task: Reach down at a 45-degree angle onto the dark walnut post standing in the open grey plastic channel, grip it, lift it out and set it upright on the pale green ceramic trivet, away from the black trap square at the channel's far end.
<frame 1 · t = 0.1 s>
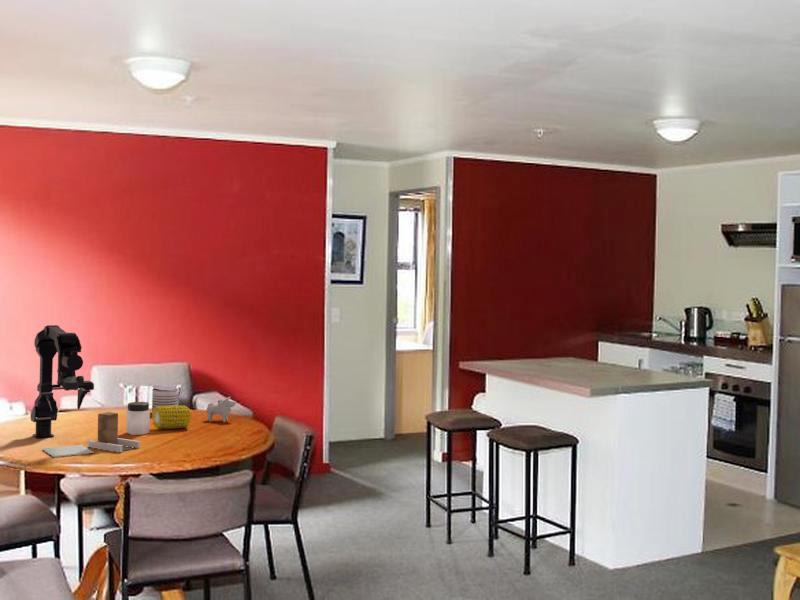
hand: (65, 410, 325), 15 cm above the table, tool pointing down, fingers open, 9 cm apart
dog figurine: (220, 421, 393), on the table
food: (171, 429, 371), on the table
trivet: (67, 451, 322), on the table
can: (164, 413, 408), on the table
jar: (137, 433, 360), on the table
channel: (113, 447, 332), on the table
post: (107, 446, 333), on the table
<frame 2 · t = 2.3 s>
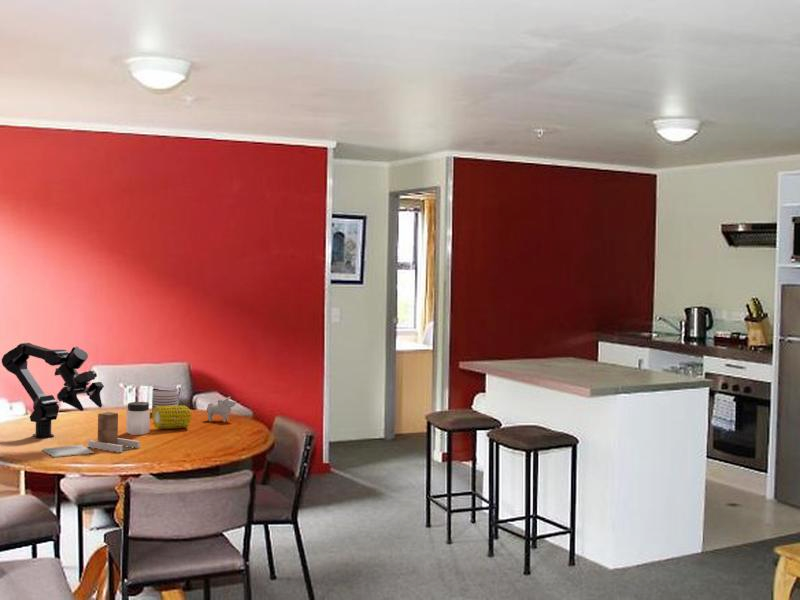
hand: (92, 408, 336), 13 cm above the table, tool tilted 45°, fingers open, 9 cm apart
nothing on the table moved.
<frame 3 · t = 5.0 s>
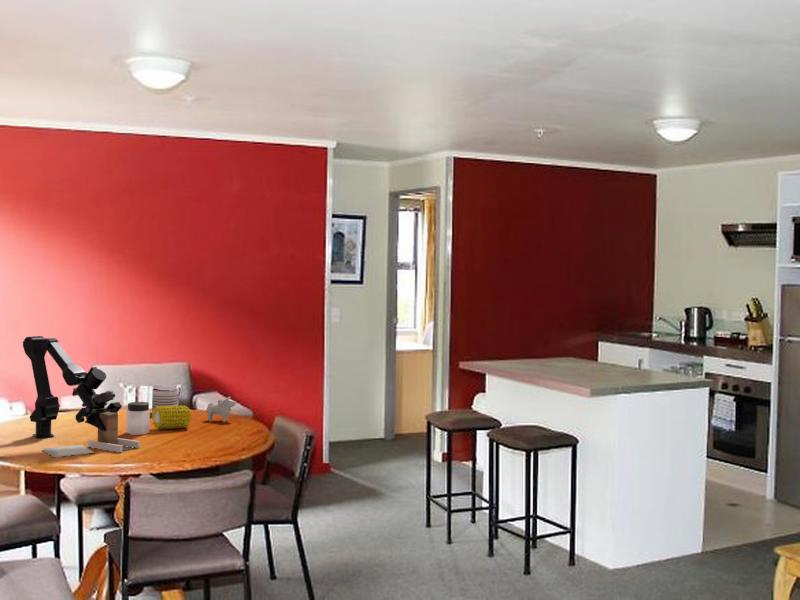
hand: (110, 429, 332), 7 cm above the table, tool tilted 45°, fingers closed on post, 5 cm apart
post: (107, 446, 333), on the table, touching gripper
everything else where it was.
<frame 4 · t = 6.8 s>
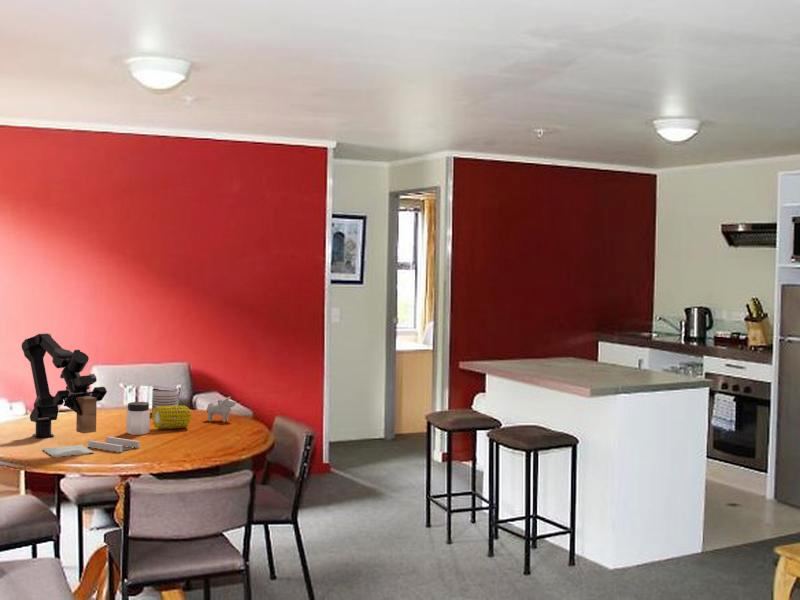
hand: (88, 414, 325), 13 cm above the table, tool tilted 45°, fingers closed on post, 5 cm apart
post: (86, 431, 326), point 7 cm above the table, touching gripper
everything else where it was.
when the fingers open (8 cm above the table, at t = 8.9 s): post stays where it is, resting on trivet.
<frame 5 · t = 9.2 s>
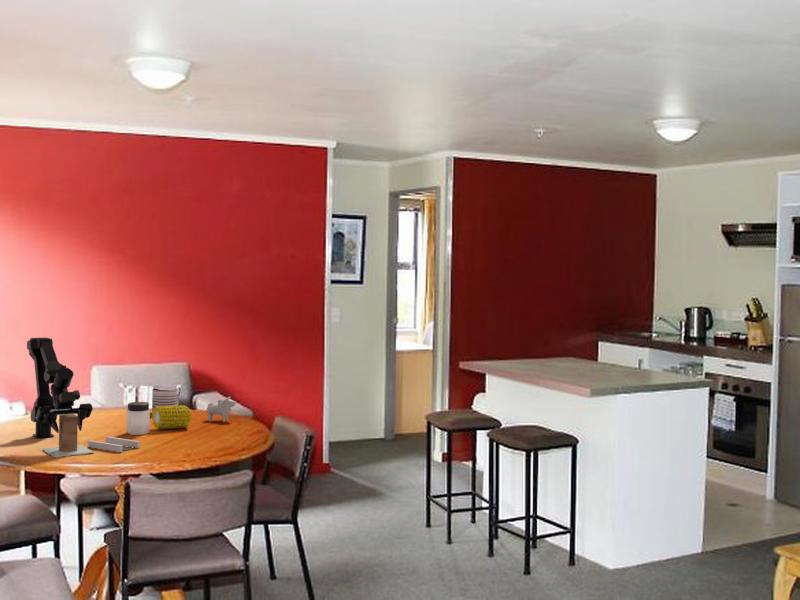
hand: (69, 431, 321), 8 cm above the table, tool tilted 45°, fingers open, 8 cm apart
post: (67, 450, 322), point 1 cm above the table, touching trivet
everything else where it was.
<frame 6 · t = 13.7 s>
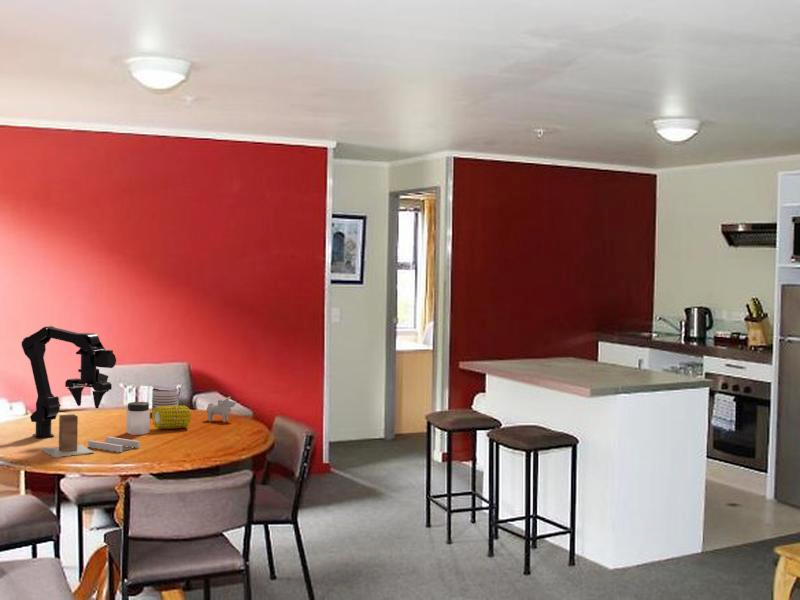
hand: (88, 407, 342), 13 cm above the table, tool pointing down, fingers open, 9 cm apart
nothing on the table moved.
at the end: post inside the target area on the trivet (0.0 cm from its centre), point 0.6 cm above the trivet's base; post tilted 0°; the gripper is holding nothing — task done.
